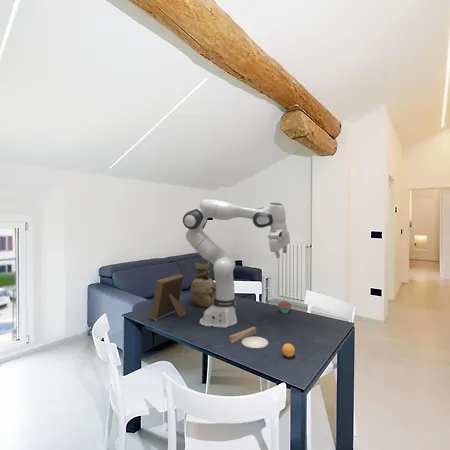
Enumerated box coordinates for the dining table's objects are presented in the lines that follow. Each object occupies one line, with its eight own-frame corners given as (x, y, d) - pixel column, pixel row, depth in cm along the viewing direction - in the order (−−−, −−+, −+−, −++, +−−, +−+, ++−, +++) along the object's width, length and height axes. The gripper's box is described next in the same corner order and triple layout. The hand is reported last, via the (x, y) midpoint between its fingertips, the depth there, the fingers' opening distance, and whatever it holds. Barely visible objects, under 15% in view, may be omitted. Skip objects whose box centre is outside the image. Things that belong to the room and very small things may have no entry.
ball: (283, 359, 126) (283, 346, 125) (281, 353, 131) (281, 341, 131) (295, 359, 125) (295, 346, 125) (293, 353, 131) (293, 341, 131)
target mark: (241, 348, 137) (241, 347, 137) (241, 336, 150) (241, 336, 150) (269, 348, 136) (269, 347, 136) (266, 337, 149) (266, 336, 149)
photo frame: (149, 320, 176) (149, 279, 175) (172, 309, 195) (172, 273, 194) (169, 324, 169) (168, 282, 168) (190, 313, 188) (190, 275, 188)
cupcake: (276, 310, 192) (276, 292, 191) (289, 309, 192) (289, 292, 192) (280, 314, 183) (280, 295, 183) (293, 314, 184) (293, 295, 183)
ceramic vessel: (224, 305, 203) (223, 263, 202) (195, 310, 194) (194, 265, 194) (214, 299, 220) (213, 260, 220) (187, 302, 212) (186, 262, 211)
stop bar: (256, 333, 154) (256, 327, 154) (232, 343, 142) (231, 337, 142) (253, 332, 156) (253, 326, 156) (229, 342, 144) (229, 336, 143)
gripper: (281, 227, 171) (283, 250, 173) (266, 235, 155) (269, 260, 157) (291, 227, 167) (293, 250, 170) (276, 235, 151) (279, 260, 153)
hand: (281, 255), depth 163 cm, fingers open, 8 cm apart
